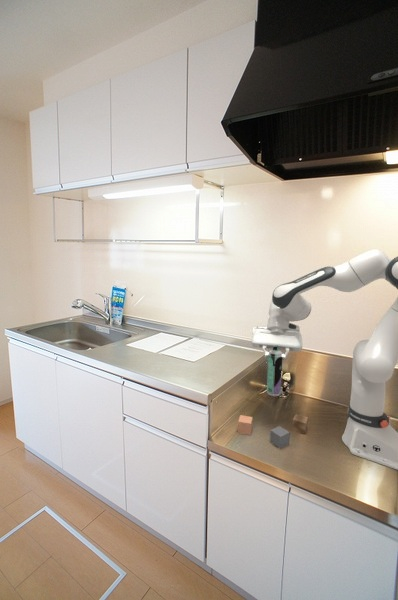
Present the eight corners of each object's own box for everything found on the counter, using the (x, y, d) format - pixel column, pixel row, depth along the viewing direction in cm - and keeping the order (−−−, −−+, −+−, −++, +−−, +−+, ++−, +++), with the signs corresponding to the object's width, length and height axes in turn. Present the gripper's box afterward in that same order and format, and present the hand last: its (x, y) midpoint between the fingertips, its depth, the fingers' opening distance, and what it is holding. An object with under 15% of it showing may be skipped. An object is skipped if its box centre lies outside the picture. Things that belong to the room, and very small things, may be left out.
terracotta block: (252, 428, 123) (252, 417, 123) (250, 435, 119) (250, 423, 118) (239, 426, 125) (240, 415, 124) (238, 433, 120) (238, 421, 119)
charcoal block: (289, 444, 113) (289, 432, 113) (280, 449, 111) (280, 436, 110) (278, 437, 117) (279, 425, 117) (269, 442, 115) (270, 430, 114)
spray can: (280, 396, 119) (283, 349, 116) (266, 395, 120) (268, 348, 117) (280, 390, 125) (282, 344, 121) (266, 388, 126) (268, 343, 122)
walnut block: (307, 428, 124) (308, 417, 123) (304, 434, 119) (305, 423, 119) (294, 424, 126) (295, 414, 125) (292, 430, 122) (292, 419, 121)
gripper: (252, 322, 127) (248, 351, 120) (303, 326, 121) (302, 357, 114) (253, 330, 132) (249, 358, 125) (302, 334, 126) (301, 364, 118)
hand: (275, 358), depth 119 cm, fingers closed on spray can, 5 cm apart
